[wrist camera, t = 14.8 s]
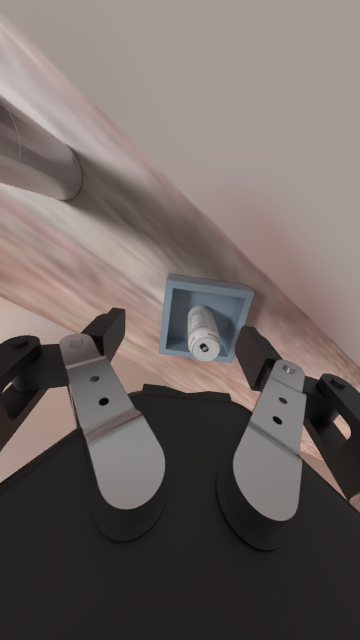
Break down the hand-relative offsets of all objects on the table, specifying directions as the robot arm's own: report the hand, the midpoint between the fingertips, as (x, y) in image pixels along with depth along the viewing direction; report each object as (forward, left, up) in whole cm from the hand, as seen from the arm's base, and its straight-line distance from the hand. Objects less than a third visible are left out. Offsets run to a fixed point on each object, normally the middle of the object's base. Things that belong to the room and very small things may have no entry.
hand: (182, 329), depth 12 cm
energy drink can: (+5, -11, -30) cm, 33 cm away
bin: (+6, -12, -31) cm, 34 cm away
